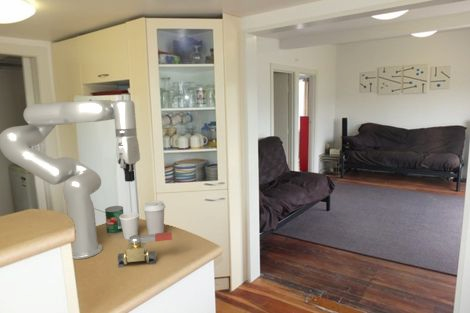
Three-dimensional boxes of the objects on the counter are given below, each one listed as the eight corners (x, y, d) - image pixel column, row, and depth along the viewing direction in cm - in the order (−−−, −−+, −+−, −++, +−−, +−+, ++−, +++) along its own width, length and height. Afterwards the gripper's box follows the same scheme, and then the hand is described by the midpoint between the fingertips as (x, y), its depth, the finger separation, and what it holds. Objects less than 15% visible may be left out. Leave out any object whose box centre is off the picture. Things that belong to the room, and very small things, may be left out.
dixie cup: (120, 241, 144) (118, 219, 143) (121, 234, 152) (120, 213, 151) (140, 239, 146) (138, 217, 144) (141, 232, 154) (139, 211, 152)
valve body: (117, 268, 121) (115, 247, 119) (120, 261, 127) (118, 240, 125) (154, 265, 123) (153, 244, 121) (155, 257, 129) (154, 237, 127)
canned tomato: (104, 234, 153) (102, 211, 151) (110, 228, 161) (108, 205, 159) (121, 234, 153) (119, 210, 151) (127, 227, 161) (125, 205, 159)
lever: (172, 240, 124) (171, 235, 124) (129, 245, 121) (128, 240, 120) (171, 235, 128) (171, 230, 128) (130, 240, 125) (129, 235, 125)
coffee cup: (154, 242, 143) (152, 208, 141) (140, 237, 149) (138, 204, 146) (171, 234, 151) (169, 202, 148) (157, 230, 156) (155, 199, 154)
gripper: (126, 135, 118) (130, 186, 122) (144, 131, 133) (147, 176, 136) (106, 135, 120) (110, 185, 123) (126, 131, 134) (129, 176, 137)
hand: (129, 180), depth 129 cm, fingers closed
